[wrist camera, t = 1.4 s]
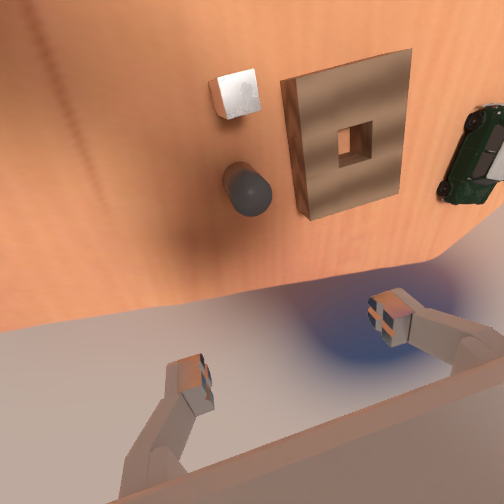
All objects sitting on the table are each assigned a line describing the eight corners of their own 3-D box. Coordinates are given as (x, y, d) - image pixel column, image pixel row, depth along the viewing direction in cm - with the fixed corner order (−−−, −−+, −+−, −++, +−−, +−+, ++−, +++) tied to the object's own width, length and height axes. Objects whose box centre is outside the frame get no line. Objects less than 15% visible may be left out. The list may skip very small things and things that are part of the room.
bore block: (280, 80, 38) (295, 78, 33) (382, 54, 39) (412, 48, 34) (296, 208, 49) (310, 221, 44) (376, 183, 50) (398, 193, 45)
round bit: (218, 167, 42) (227, 183, 34) (252, 157, 42) (268, 171, 35) (227, 200, 45) (237, 221, 37) (259, 190, 45) (275, 209, 38)
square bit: (208, 81, 36) (217, 77, 28) (236, 74, 36) (254, 68, 28) (216, 114, 38) (227, 119, 30) (243, 107, 38) (261, 110, 30)
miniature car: (431, 200, 55) (466, 214, 49) (472, 101, 47) (522, 102, 40) (464, 200, 58) (502, 213, 51) (510, 105, 49) (563, 106, 42)
